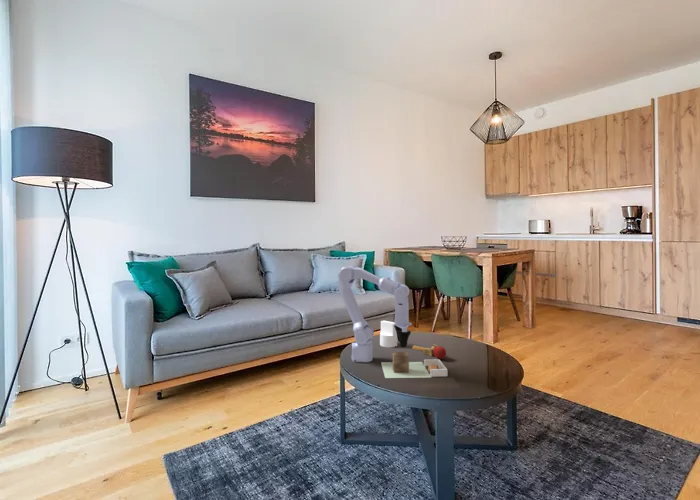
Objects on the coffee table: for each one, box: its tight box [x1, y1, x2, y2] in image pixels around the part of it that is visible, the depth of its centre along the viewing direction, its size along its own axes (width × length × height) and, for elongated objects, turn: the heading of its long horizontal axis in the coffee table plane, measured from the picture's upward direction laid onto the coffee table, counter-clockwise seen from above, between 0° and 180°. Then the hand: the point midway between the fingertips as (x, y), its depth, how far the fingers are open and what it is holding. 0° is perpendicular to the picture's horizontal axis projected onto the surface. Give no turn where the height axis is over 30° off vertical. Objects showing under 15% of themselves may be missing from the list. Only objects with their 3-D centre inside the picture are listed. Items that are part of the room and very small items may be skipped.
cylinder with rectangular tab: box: [379, 320, 398, 348], centre depth 178 cm, size 9×9×12 cm
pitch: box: [380, 358, 449, 379], centre depth 139 cm, size 24×17×4 cm
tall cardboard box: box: [392, 351, 410, 373], centre depth 138 cm, size 6×4×7 cm, turn 90°
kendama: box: [411, 344, 447, 361], centre depth 160 cm, size 8×6×18 cm
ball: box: [427, 364, 439, 373], centre depth 138 cm, size 4×4×4 cm
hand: (402, 344), depth 146 cm, fingers open, 7 cm apart
